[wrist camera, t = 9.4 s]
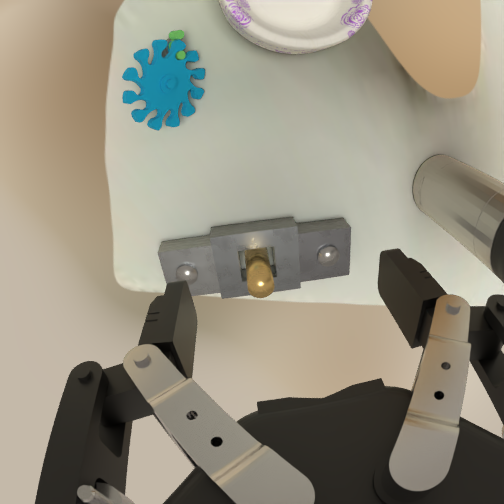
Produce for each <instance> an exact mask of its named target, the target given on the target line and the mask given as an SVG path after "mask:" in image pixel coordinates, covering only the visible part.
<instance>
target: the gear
mask: <svg viewBox="0 0 504 504" xmlns="http://www.w3.org/2000/svg"><path fill="white" fill-rule="evenodd" d="M183 37H184V32H183V31H182V30H177V31H172V32H170V33H169V38H170V39H168V40H154V41H153V43H152V47H153V50H154V57H153V60H152V63H151V64H150V65H149V64H148V57H149V50H148V49H141V50H139V51H137V52H136V53H134V58H135V60H137V61H138V62H139V63H140V65H141V67H142V71H143V76H142V77H141V78H139V77H138V72H137V70H136V69H135V68H127V69H126V71H125V72H124V74H123V76H122V78H123V79H124V80H126V81H133V82H135V83H136V84H137V85H138V86H139V87H140V88H141V92H140V94H139V95H137V94H136V93H135V92H134V91H124V93H123V103H127V104H131V103H133V102H135V101H137V100H144V101H145V102H146V107H145V109H143V110H140V109H135V110H133V111H132V113H131V114H132V117H133V119H134V120H135V122H142V121H143V120H144V119H145V117H146V116H147V115H148V114H149V113H150V112H151V111H153V110H155V109H157V115H156V117H154V118H152V119H150V120H149V121H148V123H147V125H148V126H149V127H150V128H152V129H155V130H160V129H161V127H162V120H163V118H164V116H165V114H166V113H167V112H168V110H170V111H171V114H170V116H169V117H168V118H167V120H166V126H170V127H177V126H179V124H180V120H179V117H178V109H179V106H180V103H181V102H182V104H183V106H182V109H181V113H182V115H183V116H187V117H188V116H190V115H192V114H193V113H194V112H195V108H194V107H193V106H192V105H191V104H190V102H189V100H188V91H189V90H190V93H191V97H192V98H193V99H200V98H201V97H202V95H203V93H204V90H203V89H202V88H197V87H195V86H194V85H193V84H192V83H191V81H190V76H191V75H192V76H193V78H194V79H204V76H205V69H203V68H196V69H194V70H189V69H187V68H186V66H185V65H186V62H187V61H188V62H196V61H198V60H199V56H198V53H197V51H188V52H187V53H186V54H185V52H184V51H182V50H184V49H185V47H186V45H185V43H184V42H183V41H181V40H178V39H182V38H183Z"/></svg>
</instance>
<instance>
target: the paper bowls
mask: <svg viewBox="0 0 504 504" xmlns="http://www.w3.org/2000/svg"><path fill="white" fill-rule="evenodd" d="M219 3H220V6H221V9H222V11H223V13H224V15H225V17H226V19H227V20H228V22H229V24H230V25H231V26H232V27H233V28H234V29H235V30H236V31H237V32H238V33H239V34H240V35H242V36H243V37H244V38H246V39H247V40H249V41H250V42H252V43H254V44H256V45H258V46H260V47H263V48H265V49H268V50H271V51H275V52H279V53H287V54H302V53H313V52H316V51H320V50H323V49H326V48H328V47H331V46H334V45H337V44H339V43H341V42H343V41H345V40H347V39H349V38H350V37H351V36H352V35H354V34H355V33H356V32H357V31H358V30H359V29H360V28H361V27H362V25H363V24H364V23H365V21H366V19H367V17H368V15H369V13H370V10H371V6H372V0H219Z"/></svg>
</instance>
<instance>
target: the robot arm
mask: <svg viewBox="0 0 504 504" xmlns="http://www.w3.org/2000/svg"><path fill="white" fill-rule="evenodd" d="M413 195H414V200H415V202H416V204H417V206H418V208H419V209H420V210H421V211H422V212H424V213H425V214H426V215H427V216H429V217H430V218H431V219H432V220H434V221H435V222H436V223H437V224H438V225H439V226H441V227H442V228H443V229H444V230H446V231H447V232H448V233H449V234H450V235H452V236H453V237H454V238H455V239H456V240H457V241H459V242H460V243H461V244H462V245H463V246H464V247H466V248H467V249H468V250H469V251H470V252H471V253H472V254H473V255H475V256H476V257H477V258H478V259H479V260H480V261H481V262H482V263H483V264H485V265H486V266H487V267H488V268H489V269H490V270H491V271H492V272H493V273H494V274H495V275H496V276H497V277H498V278H499V279H501V280H502V282H503V283H504V183H502V182H500V181H499V180H497V179H495V178H493V177H491V176H489V175H487V174H485V173H483V172H481V171H479V170H477V169H475V168H473V167H471V166H469V165H467V164H465V163H463V162H460V161H458V160H456V159H454V158H451V157H449V156H446V155H436V156H433V157H431V158H429V159H427V160H426V161H425V162H424V163H423V164H422V165H421V167H420V168H419V170H418V172H417V174H416V176H415V179H414V185H413ZM378 290H379V294H380V296H381V298H382V299H383V301H384V303H385V304H386V306H387V308H388V309H389V311H390V312H391V314H392V316H393V317H394V319H395V320H396V322H397V324H398V326H399V328H400V329H401V331H402V333H403V334H404V336H405V338H406V340H407V341H408V343H409V345H410V346H411V348H415V347H419V346H422V347H423V353H422V356H421V360H420V363H419V366H418V370H417V374H416V376H415V380H414V383H413V386H412V389H411V391H410V390H407V389H404V388H399V387H390V386H384V383H383V381H382V379H381V378H380V379H376V380H372V381H368V382H364V383H359V384H355V385H352V386H349V387H347V388H345V389H343V390H341V391H339V392H336V393H334V394H332V395H330V396H327V397H325V398H292V397H288V398H281V399H275V400H267V401H260V402H257V407H258V411H256V412H253V413H251V414H249V415H247V416H245V417H243V418H241V419H240V420H238V421H237V422H236V421H235V420H233V418H231V417H230V416H229V415H228V414H227V413H226V412H225V411H224V410H223V409H222V408H221V407H220V406H219V405H218V404H217V403H216V402H215V401H214V400H213V399H212V398H211V397H210V396H209V395H208V394H207V393H206V392H205V391H204V390H203V389H202V388H201V387H200V386H199V385H198V384H197V383H196V382H195V381H194V380H193V379H192V373H193V362H194V351H195V342H196V331H197V315H196V310H195V307H194V303H193V300H192V297H191V293H190V290H189V286H188V283H187V281H186V280H184V281H176V282H169V283H167V286H166V290H165V294H164V295H163V296H157V297H156V298H155V300H154V301H153V302H152V303H151V304H150V307H149V310H148V313H147V314H148V315H147V317H146V320H145V321H146V322H145V323H144V327H143V330H142V333H141V337H140V340H139V344H138V346H137V347H135V348H133V349H132V350H130V351H129V352H128V353H127V354H126V356H125V357H124V360H123V363H122V364H119V365H116V366H113V367H110V368H106V369H102V367H101V366H100V364H98V363H97V362H94V361H87V362H83V363H81V364H79V365H77V366H76V367H75V368H74V369H73V370H72V371H71V373H70V375H69V377H68V380H67V383H66V386H65V389H64V392H63V395H62V398H61V401H60V405H59V408H58V411H57V414H56V418H55V421H54V425H53V428H52V432H51V435H50V439H49V443H48V447H47V451H46V455H45V459H44V463H43V467H42V472H41V476H40V481H39V485H38V490H37V495H36V501H35V504H134V503H133V501H132V500H130V499H129V498H128V497H126V496H125V486H126V475H127V465H128V455H129V446H130V436H131V429H132V421H133V420H136V419H139V418H143V417H146V416H150V415H154V417H155V418H156V419H157V421H158V422H159V423H160V425H161V426H162V427H163V429H164V430H165V431H166V432H167V434H168V435H169V436H170V438H171V439H172V440H173V441H174V443H175V444H176V445H177V446H178V448H179V449H180V450H181V452H182V453H183V454H184V456H185V457H186V458H187V459H188V460H189V462H190V463H191V464H192V465H193V466H194V468H195V469H194V470H193V471H192V472H191V473H190V474H189V476H188V477H187V478H186V479H185V480H184V481H183V482H182V483H181V485H180V486H179V487H178V488H177V489H176V490H175V491H174V492H173V493H172V494H171V496H170V497H169V498H168V499H167V500H166V501H165V502H164V503H163V504H504V354H503V353H502V351H501V348H502V346H503V345H504V295H492V296H490V297H489V298H488V300H487V303H486V306H470V305H469V304H468V302H467V301H466V300H465V299H463V298H461V297H459V296H456V295H448V294H447V293H446V292H445V291H444V290H443V288H442V287H441V286H440V285H439V284H438V283H437V281H436V280H435V279H434V278H433V277H432V276H431V274H430V273H429V272H427V270H426V269H425V268H424V267H423V265H422V264H421V263H419V262H417V261H416V260H414V259H412V258H407V257H406V256H405V255H404V253H403V252H402V251H401V250H400V249H398V248H397V249H391V250H385V251H382V252H381V254H380V262H379V275H378ZM469 361H470V362H471V364H472V366H473V367H474V369H475V371H476V373H477V375H478V376H479V378H480V380H481V382H482V384H483V386H484V387H485V389H486V391H487V393H488V395H489V397H490V399H491V401H492V403H493V404H494V407H495V409H496V411H497V413H498V414H499V417H500V418H501V421H502V423H503V428H502V437H503V438H501V437H499V436H497V435H495V434H493V433H491V432H489V431H487V430H485V429H483V428H481V427H479V426H477V425H475V424H473V423H471V422H469V421H468V420H466V419H464V418H462V417H460V414H461V409H462V404H463V398H464V392H465V386H466V381H467V374H468V367H469Z"/></svg>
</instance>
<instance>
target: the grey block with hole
mask: <svg viewBox="0 0 504 504" xmlns="http://www.w3.org/2000/svg"><path fill="white" fill-rule="evenodd" d="M350 240H351V227H350V226H349V224H348V223H347V222H346V221H345V219H344V218H339V219H330V220H322V221H314V222H305V223H297V224H296V222H295V220H294V218H293V217H287V218H279V219H271V220H264V221H256V222H248V223H241V224H233V225H226V226H219V227H211V231H210V235H206V236H199V237H192V238H184V239H177V240H171V241H164V242H162V243H161V246H160V248H159V251H158V256H159V259H160V263H161V266H162V270H163V273H164V276H165V280H166V283H169V282H176V281H184V280H186V281H187V283H188V286H189V290H190V293H191V296H196V295H205V294H213V293H221V297H222V298H231V297H239V296H247V295H251V294H250V293H249V291H248V285H247V274H246V269H242V270H241V264H240V258H239V251H242V250H250V249H257V248H265V247H272V248H273V258H274V265H272V266H271V271H272V276H273V280H274V285H275V287H274V291H273V292H277V291H284V290H291V289H298V288H301V286H300V282H304V281H311V280H317V279H324V278H331V277H337V276H344V275H349V266H350Z"/></svg>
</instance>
